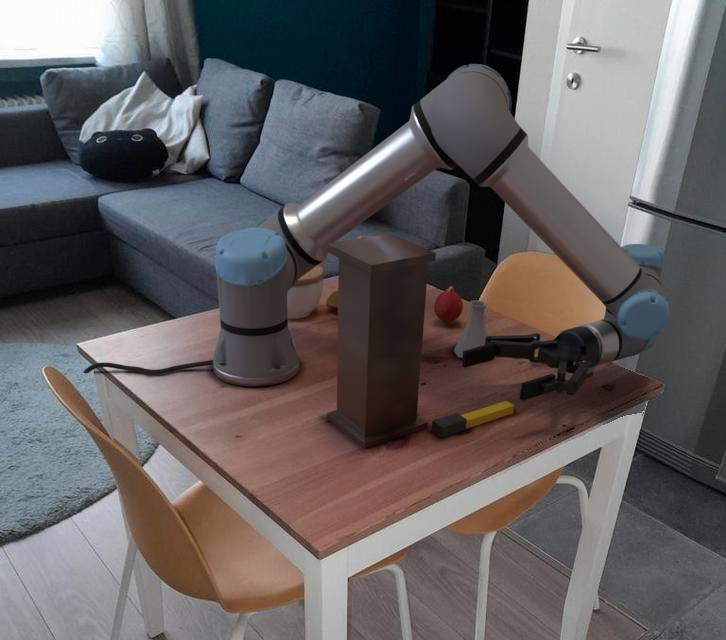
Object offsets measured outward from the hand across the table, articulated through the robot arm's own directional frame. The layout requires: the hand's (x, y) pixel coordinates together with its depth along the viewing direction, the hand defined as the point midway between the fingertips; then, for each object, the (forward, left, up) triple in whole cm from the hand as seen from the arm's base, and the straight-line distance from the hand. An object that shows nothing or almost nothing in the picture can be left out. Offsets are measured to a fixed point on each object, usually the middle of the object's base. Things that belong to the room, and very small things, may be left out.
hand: (491, 375), depth 125 cm
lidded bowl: (-39, +41, -8) cm, 57 cm away
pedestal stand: (-18, -4, -8) cm, 20 cm away
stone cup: (-24, +46, -8) cm, 52 cm away
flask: (-2, +26, -8) cm, 27 cm away
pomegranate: (-7, +40, -8) cm, 41 cm away
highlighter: (-2, -1, -8) cm, 8 cm away
